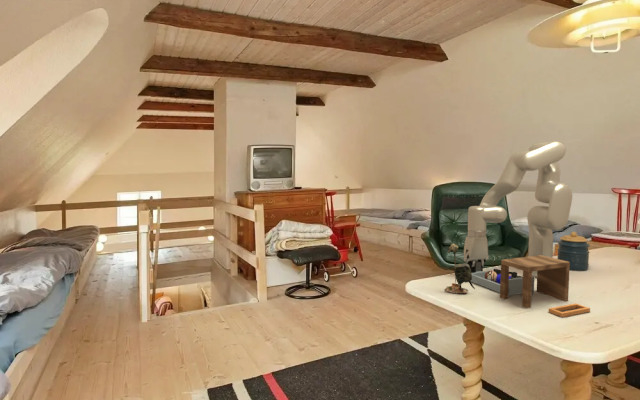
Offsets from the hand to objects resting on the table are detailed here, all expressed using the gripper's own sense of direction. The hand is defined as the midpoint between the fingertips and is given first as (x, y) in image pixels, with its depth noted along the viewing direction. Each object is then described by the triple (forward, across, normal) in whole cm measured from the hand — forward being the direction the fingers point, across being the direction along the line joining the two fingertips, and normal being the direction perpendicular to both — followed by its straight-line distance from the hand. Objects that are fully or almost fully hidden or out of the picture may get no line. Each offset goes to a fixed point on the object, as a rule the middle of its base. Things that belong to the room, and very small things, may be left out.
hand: (475, 273), depth 171 cm
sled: (+1, 0, +11) cm, 11 cm away
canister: (+2, -55, +4) cm, 55 cm away
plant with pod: (+2, +20, +13) cm, 24 cm away
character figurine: (+2, 0, +16) cm, 16 cm away
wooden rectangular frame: (+2, 0, +44) cm, 44 cm away
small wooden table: (+2, 0, +30) cm, 30 cm away
